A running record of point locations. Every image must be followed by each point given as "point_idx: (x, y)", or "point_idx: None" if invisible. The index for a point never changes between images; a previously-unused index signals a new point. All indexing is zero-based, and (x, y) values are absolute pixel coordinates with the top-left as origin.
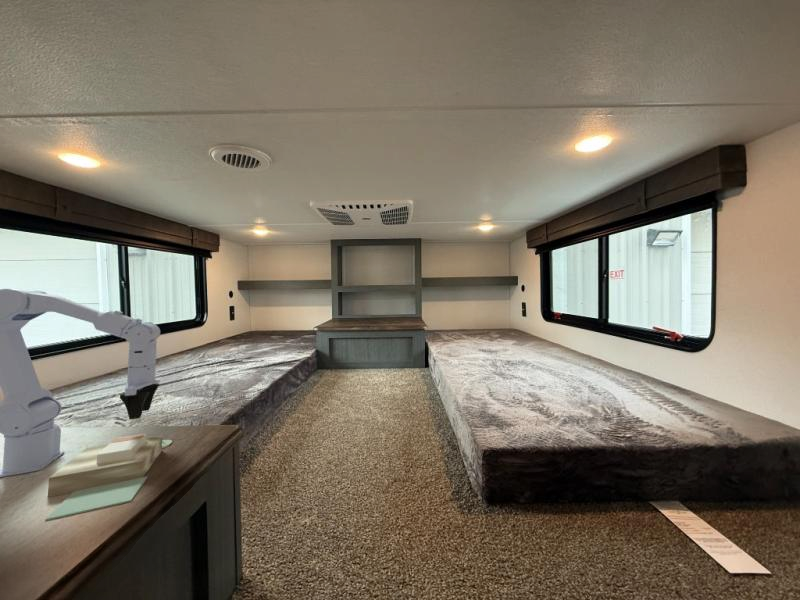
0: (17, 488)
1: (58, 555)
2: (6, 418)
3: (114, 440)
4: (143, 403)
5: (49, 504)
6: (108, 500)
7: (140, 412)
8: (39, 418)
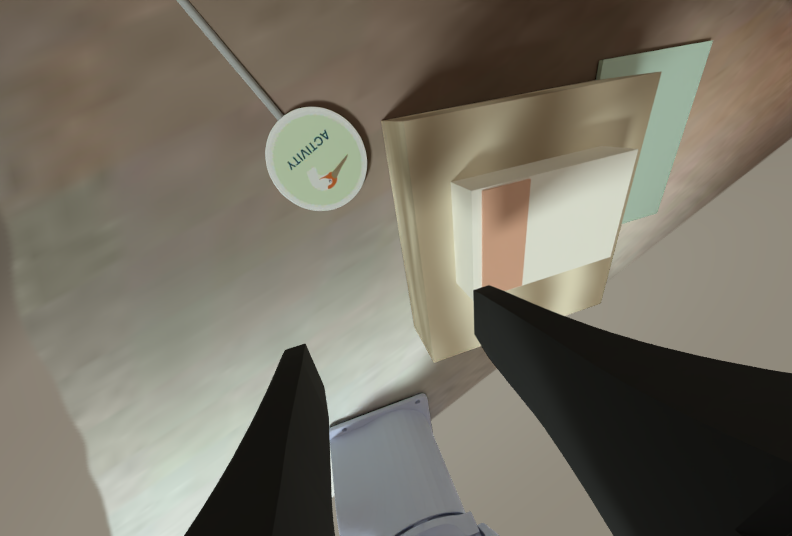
0: (490, 363)
1: (785, 100)
2: None
3: (504, 287)
4: (601, 345)
5: None
6: (671, 114)
7: (528, 302)
8: None
